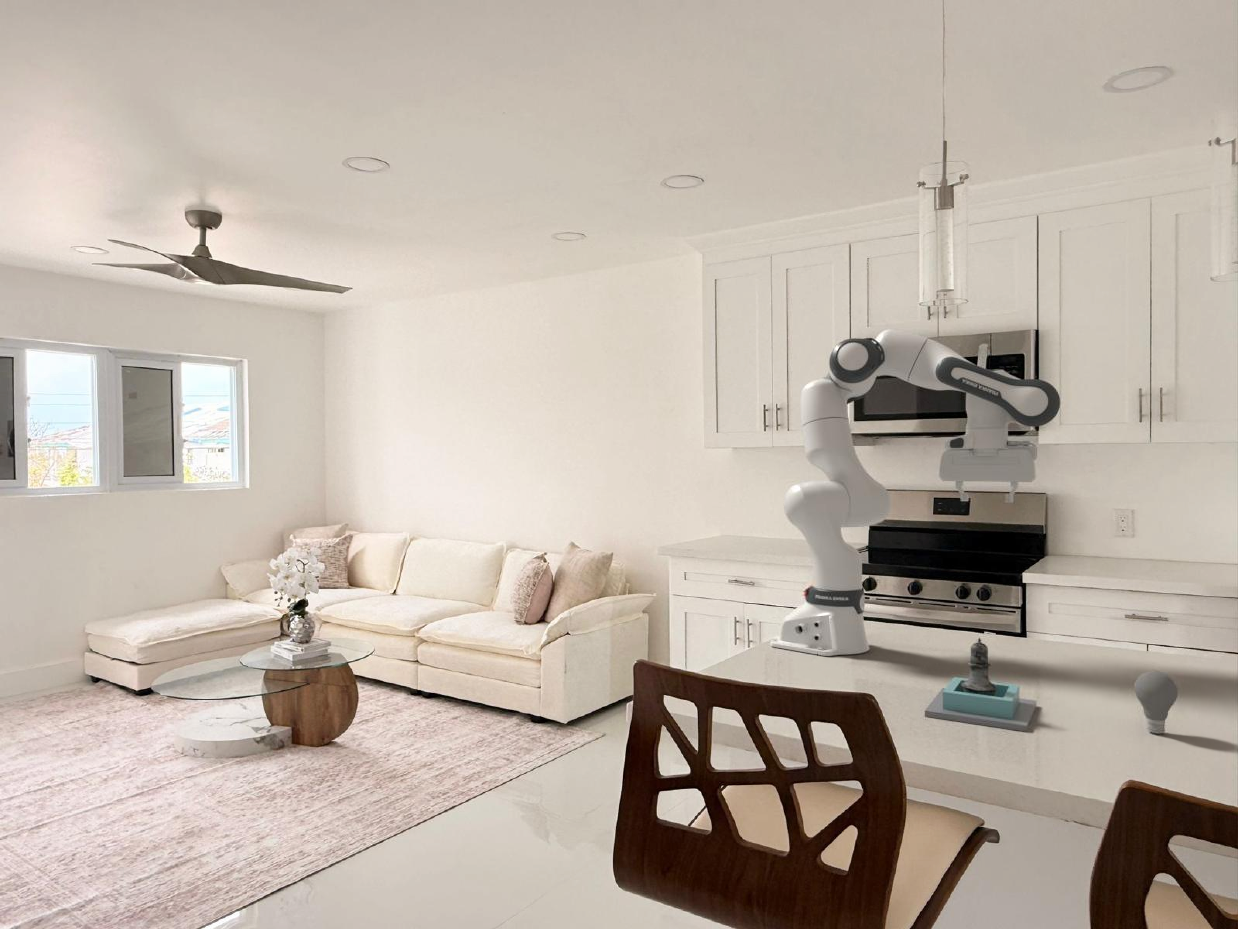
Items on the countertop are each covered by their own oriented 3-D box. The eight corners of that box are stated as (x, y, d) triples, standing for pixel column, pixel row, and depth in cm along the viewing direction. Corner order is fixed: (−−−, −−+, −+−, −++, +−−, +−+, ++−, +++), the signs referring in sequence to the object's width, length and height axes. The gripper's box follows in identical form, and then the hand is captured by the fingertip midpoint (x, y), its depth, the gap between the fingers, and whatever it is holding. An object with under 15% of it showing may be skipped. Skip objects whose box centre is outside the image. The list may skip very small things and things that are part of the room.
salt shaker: (956, 706, 149) (956, 638, 149) (967, 698, 154) (967, 632, 153) (991, 713, 146) (991, 643, 145) (1001, 704, 150) (1002, 637, 150)
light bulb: (1168, 741, 134) (1168, 678, 134) (1127, 731, 139) (1127, 670, 138) (1184, 734, 137) (1184, 672, 137) (1143, 724, 142) (1144, 665, 142)
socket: (924, 716, 147) (924, 693, 147) (942, 693, 161) (942, 672, 161) (1026, 731, 139) (1026, 707, 139) (1036, 706, 152) (1036, 684, 152)
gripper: (1038, 440, 191) (1038, 502, 191) (942, 441, 202) (942, 499, 202) (1035, 440, 186) (1035, 503, 186) (937, 441, 196) (937, 501, 197)
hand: (986, 501), depth 194 cm, fingers open, 8 cm apart
